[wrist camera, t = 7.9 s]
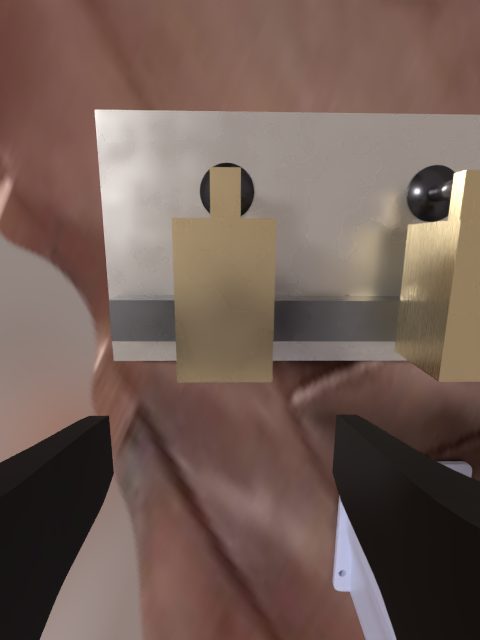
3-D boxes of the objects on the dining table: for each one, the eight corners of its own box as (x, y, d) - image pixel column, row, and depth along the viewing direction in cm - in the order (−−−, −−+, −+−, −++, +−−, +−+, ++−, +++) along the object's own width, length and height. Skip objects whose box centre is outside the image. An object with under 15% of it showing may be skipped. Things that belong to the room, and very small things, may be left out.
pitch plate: (468, 351, 21) (580, 404, 14) (122, 352, 20) (68, 406, 14) (503, 125, 18) (662, 58, 11) (106, 120, 18) (29, 47, 11)
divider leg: (261, 344, 18) (272, 381, 13) (191, 344, 18) (177, 382, 13) (265, 179, 16) (278, 155, 12) (187, 179, 16) (169, 154, 12)
